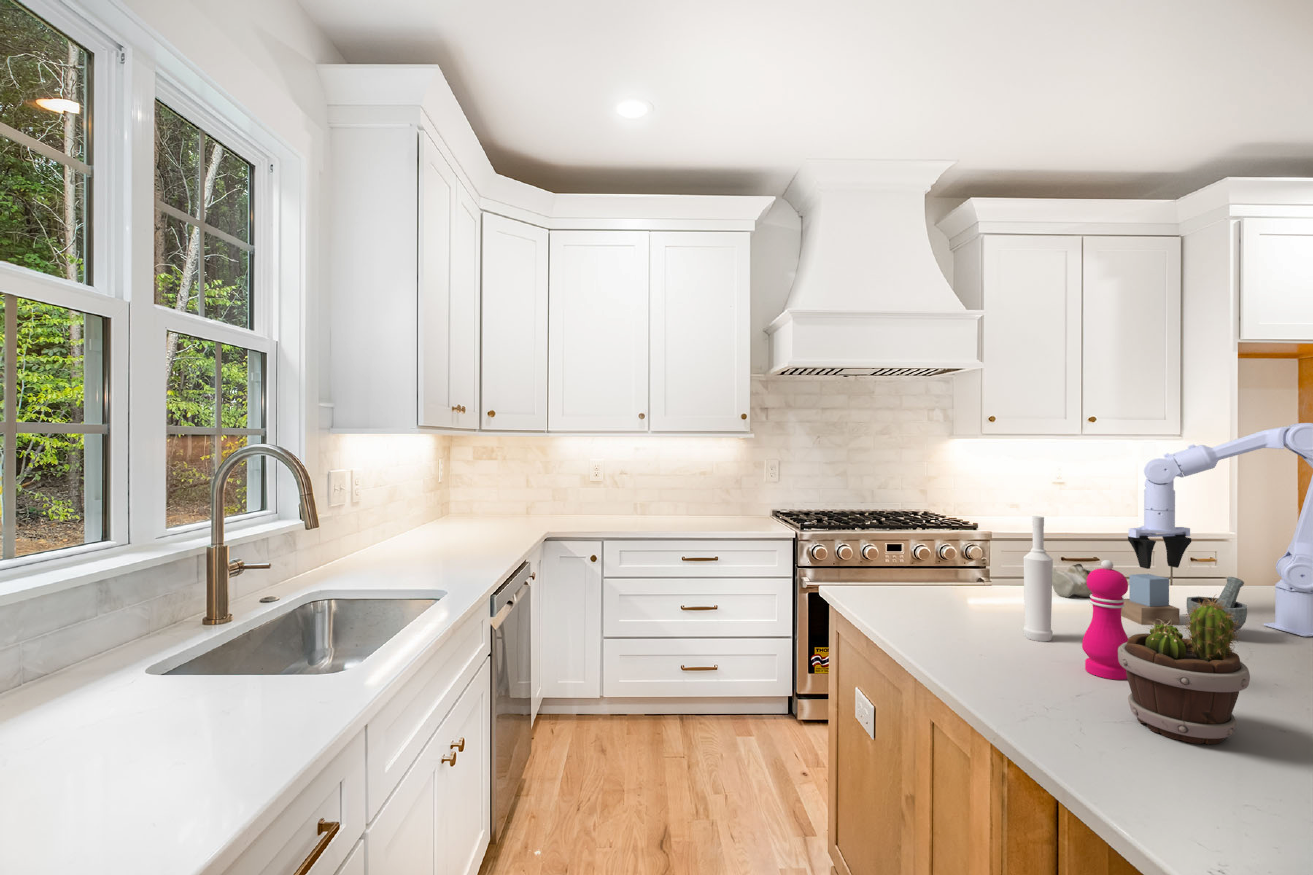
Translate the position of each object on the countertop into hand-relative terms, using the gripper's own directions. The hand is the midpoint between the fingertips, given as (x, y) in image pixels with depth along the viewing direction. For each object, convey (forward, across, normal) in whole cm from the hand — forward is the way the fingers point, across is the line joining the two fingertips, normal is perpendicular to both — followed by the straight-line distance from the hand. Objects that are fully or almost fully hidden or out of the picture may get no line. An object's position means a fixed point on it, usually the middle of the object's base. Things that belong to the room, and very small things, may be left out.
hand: (1159, 567), depth 150 cm
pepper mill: (+11, +44, +32) cm, 55 cm away
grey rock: (+11, +7, -15) cm, 20 cm away
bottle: (+11, +42, +13) cm, 45 cm away
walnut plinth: (+11, +8, +5) cm, 15 cm away
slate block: (+7, +8, +5) cm, 12 cm away
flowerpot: (+11, +51, +52) cm, 74 cm away
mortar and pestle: (+11, +4, +17) cm, 20 cm away
